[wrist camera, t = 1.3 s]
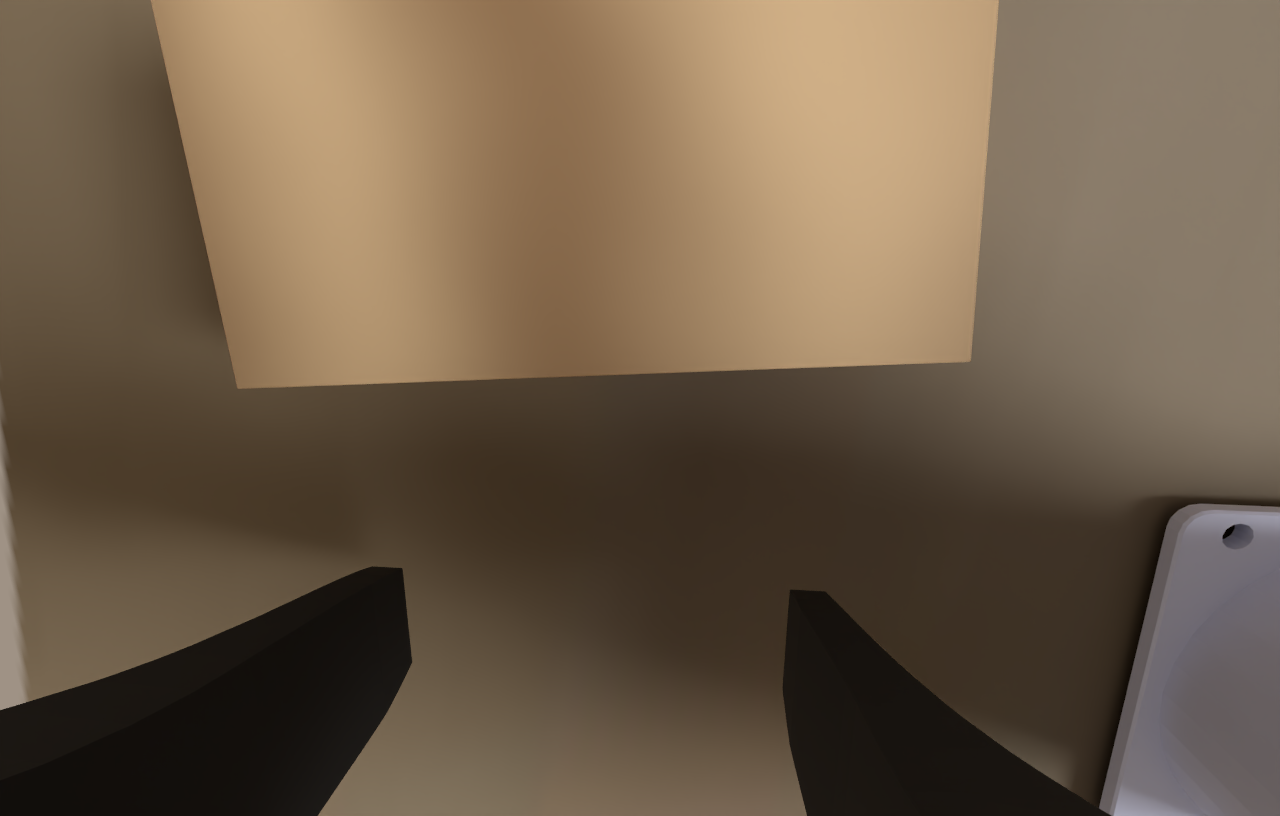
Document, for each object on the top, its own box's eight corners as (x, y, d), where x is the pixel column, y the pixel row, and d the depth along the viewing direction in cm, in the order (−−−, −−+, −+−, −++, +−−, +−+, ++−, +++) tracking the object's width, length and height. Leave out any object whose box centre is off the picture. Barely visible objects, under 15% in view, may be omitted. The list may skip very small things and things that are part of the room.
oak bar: (881, 43, 10) (1007, -110, 6) (870, 324, 12) (970, 361, 7) (356, 94, 12) (149, -6, 7) (394, 345, 13) (238, 388, 8)
